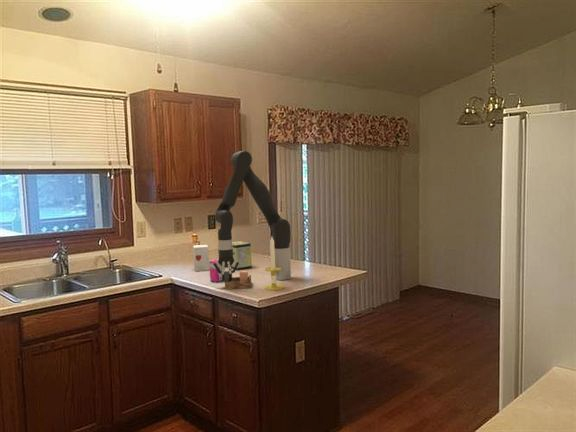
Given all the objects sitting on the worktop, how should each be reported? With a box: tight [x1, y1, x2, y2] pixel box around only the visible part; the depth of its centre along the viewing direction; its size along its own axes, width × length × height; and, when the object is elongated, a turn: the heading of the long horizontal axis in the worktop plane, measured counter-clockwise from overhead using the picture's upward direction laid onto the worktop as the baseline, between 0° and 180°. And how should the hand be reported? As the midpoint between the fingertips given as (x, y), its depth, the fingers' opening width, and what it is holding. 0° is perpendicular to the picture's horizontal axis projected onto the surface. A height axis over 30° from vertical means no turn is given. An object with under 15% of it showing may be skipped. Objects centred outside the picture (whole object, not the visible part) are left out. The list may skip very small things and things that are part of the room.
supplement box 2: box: [209, 259, 225, 283], centre depth 275 cm, size 6×6×12 cm
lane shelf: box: [224, 274, 252, 290], centre depth 261 cm, size 13×12×4 cm
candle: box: [264, 236, 285, 291], centre depth 253 cm, size 10×10×27 cm
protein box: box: [231, 241, 253, 271], centre depth 311 cm, size 10×16×16 cm
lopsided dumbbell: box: [224, 269, 249, 283], centre depth 261 cm, size 12×5×6 cm, turn 93°
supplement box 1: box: [193, 244, 210, 272], centre depth 309 cm, size 9×9×15 cm
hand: (227, 280), depth 261 cm, fingers closed on lopsided dumbbell, 2 cm apart
